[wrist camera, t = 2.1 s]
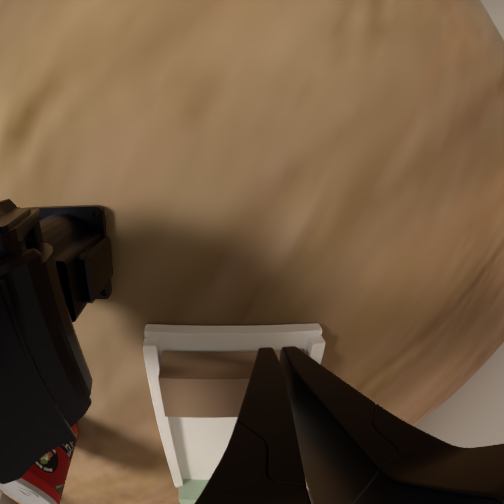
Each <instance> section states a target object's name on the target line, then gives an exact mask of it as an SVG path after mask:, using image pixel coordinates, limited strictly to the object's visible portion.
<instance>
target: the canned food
mask: <svg viewBox="0 0 504 504" xmlns="http://www.w3.org/2000/svg"><path fill="white" fill-rule="evenodd" d="M71 429H72V431H73V432H74V434H75V435H76V440H75V441H73V442H70V443H68V444H65V445H62V446H59V447H56V448H55V449H53V450H51V451H50V452H48V453H46V454H45V455H43V456H42V457H41V458H40V459H39V460H38V461H36V462H35V463H34V464H33V466H32V467H31V468H30V469H29V470H28V471H27V472H26V473H25V474H24V475H23V476H22V477H21V478H20V479H18V480H15V481H12V482H9V483H6V484H0V489H1V490H2V491H3V492H5V493H6V494H8V495H9V496H11V497H12V498H14V499H15V500H17V501H19V502H21V503H23V504H60V500H61V496H62V492H63V488H64V484H65V480H66V477H67V473H68V469H69V466H70V462H71V459H72V455H73V452H74V449H75V445H76V442H77V439H78V426H77V423H75V425H74V426H72V427H71Z"/></svg>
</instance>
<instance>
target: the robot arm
mask: <svg viewBox="0 0 504 504" xmlns="http://www.w3.org/2000/svg"><path fill="white" fill-rule="evenodd" d="M95 210H97V211H98V212H99V217H97V216H96V215H95ZM112 275H113V267H112V257H111V245H110V239H109V238H108V236H106V225H105V211H104V209H103V207H101V206H99V205H86V206H55V207H33V208H30V207H28V208H20V207H18V208H17V206H16V205H15V204H14V203H13V202H12V201H11V200H10V199H7V200H2V201H0V484H6V483H9V482H12V481H15V480H18V479H20V478H21V477H22V476H23V475H24V474H25V473H26V472H27V471H28V470H29V469H30V468H31V467H32V466H33V464H34V463H35V462H36V461H38V460H39V459H40V458H41V457H42V456H43V455H45V454H46V453H48V452H50V451H51V450H53V449H55V448H56V447H59V446H62V445H65V444H68V443H70V442H73V441H75V440H76V435H75V434H74V432H73V431H72V429H71V427H72V426H74V425H75V423H76V422H77V421H78V420H79V419H80V418H81V417H82V416H83V415H84V414H85V413H86V412H87V410H88V408H89V406H90V405H91V399H90V394H91V387H92V378H91V374H90V371H89V368H88V366H87V363H86V361H85V358H84V355H83V353H82V350H81V347H80V344H79V341H78V339H77V336H76V333H75V330H74V327H73V324H72V322H75V321H76V319H77V318H78V316H79V315H80V313H81V312H82V310H83V309H84V307H85V306H86V304H87V303H93V302H94V301H95V299H108V298H109V297H110V295H111V293H112V288H111V280H110V277H111V276H112ZM103 289H104V290H106V291H107V293H104V292H103V291H102V290H103ZM305 479H306V481H305ZM306 482H307V485H308V488H309V491H310V494H311V497H312V500H313V503H314V504H504V444H499V445H492V446H485V447H476V448H462V447H457V446H453V445H450V444H448V443H445V442H444V441H442V440H439V439H437V438H436V437H433V436H431V435H429V434H427V433H425V432H423V431H421V430H419V429H418V428H416V427H414V426H412V425H410V424H408V423H406V422H405V421H403V420H401V419H399V418H398V417H396V416H394V415H393V414H391V413H390V412H388V411H386V410H385V409H383V408H382V407H381V406H379V405H378V404H376V405H375V403H374V402H373V401H372V400H370V399H369V398H367V397H366V396H364V395H363V394H361V393H360V392H358V391H357V390H356V389H354V388H353V387H351V386H350V385H348V384H347V383H346V382H344V381H343V380H341V379H340V378H339V377H337V376H336V375H334V374H333V373H332V372H330V371H329V370H327V369H326V368H325V367H323V366H322V365H321V364H319V363H318V362H316V361H315V360H314V359H312V358H311V357H310V356H308V355H307V354H305V353H304V352H303V351H301V350H300V349H299V348H297V347H296V346H288V347H282V349H281V352H280V359H279V360H278V358H277V355H276V353H275V351H274V349H273V348H272V347H265V348H259V349H258V353H257V356H256V359H255V363H254V366H253V369H252V373H251V376H250V379H249V382H248V386H247V389H246V392H245V395H244V399H243V402H242V405H241V408H240V411H239V414H238V418H237V421H236V423H235V426H234V429H233V433H232V435H231V438H230V440H229V443H228V446H227V448H226V450H225V452H224V454H223V456H222V458H221V460H220V462H219V464H218V465H217V467H216V469H215V471H214V472H213V474H212V476H211V478H210V479H209V481H208V483H207V484H206V486H205V488H204V489H203V491H202V493H201V494H200V496H199V498H198V499H197V501H196V502H195V503H194V504H311V502H310V499H309V496H308V492H307V488H306Z"/></svg>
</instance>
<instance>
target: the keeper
mask: <svg viewBox="0 0 504 504" xmlns="http://www.w3.org/2000/svg"><path fill="white" fill-rule="evenodd" d="M300 350H301V351H303V352H304V353H305V354H306V352H305V350H304V349H300ZM274 351H275V353H276V355H277V358H278V360H279V359H280V352H281V350H274ZM257 353H258V351H238V352H192V351H163V354H162V359H161V365H160V370H159V376H158V380H159V386H160V391H161V397H162V403H163V408H164V413H165V416H166V417H194V418H222V417H238V414H239V411H240V408H241V405H242V402H243V399H244V395H245V392H246V389H247V386H248V382H249V379H250V376H251V373H252V369H253V366H254V363H255V359H256V356H257Z"/></svg>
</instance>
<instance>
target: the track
mask: <svg viewBox="0 0 504 504" xmlns="http://www.w3.org/2000/svg"><path fill="white" fill-rule="evenodd" d="M321 335H322V328H321V326H320V325H319V323H309V324H286V325H247V326H198V325H159V324H146V326H145V329H144V341H143V344H142V347H143V353H144V359H145V365H146V371H147V376H148V382H149V387H150V392H151V397H152V401H153V406H154V410H155V415H156V419H157V423H158V428H159V432H160V436H161V440H162V443H163V447H164V451H165V455H166V458H167V462H168V465H169V469H170V472H171V475H172V478H173V482H174V485H175V487H179V501H180V504H194V503H195V502H196V501H197V499H198V498H199V496H200V494H201V493H202V491H203V489H204V488H205V486H206V484H207V483H208V481H209V479H210V478H211V476H212V474H213V472H214V471H215V469H216V467H217V465H218V464H219V462H220V460H221V458H222V456H223V454H224V452H225V450H226V448H227V446H228V443H229V440H230V438H231V435H232V433H233V429H234V426H235V423H236V421H237V418H238V417H222V418H194V417H166V416H165V413H164V408H163V403H162V397H161V391H160V386H159V380H158V376H159V370H160V365H161V359H162V354H163V351H192V352H238V351H258V349H259V348H265V347H272V348H273V349H274V350H281V349H282V347H288V346H296V347H297V348H299V349H304V350H305V352H306V354H307V355H308V356H310V357H311V358H312V359H314V360H315V361H316V362H318V363H319V364H321V361H322V357H323V352H324V348H325V344H326V343H325V341H324V339H323V337H322V336H321Z"/></svg>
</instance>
